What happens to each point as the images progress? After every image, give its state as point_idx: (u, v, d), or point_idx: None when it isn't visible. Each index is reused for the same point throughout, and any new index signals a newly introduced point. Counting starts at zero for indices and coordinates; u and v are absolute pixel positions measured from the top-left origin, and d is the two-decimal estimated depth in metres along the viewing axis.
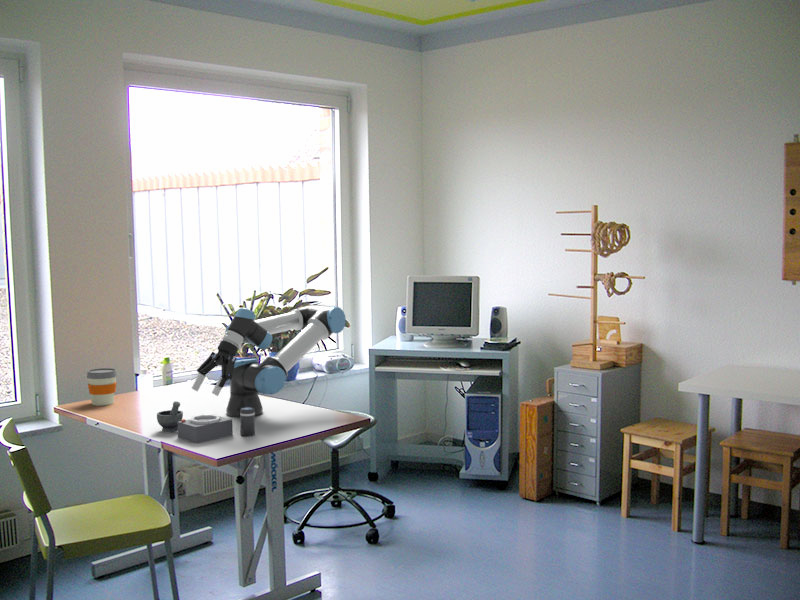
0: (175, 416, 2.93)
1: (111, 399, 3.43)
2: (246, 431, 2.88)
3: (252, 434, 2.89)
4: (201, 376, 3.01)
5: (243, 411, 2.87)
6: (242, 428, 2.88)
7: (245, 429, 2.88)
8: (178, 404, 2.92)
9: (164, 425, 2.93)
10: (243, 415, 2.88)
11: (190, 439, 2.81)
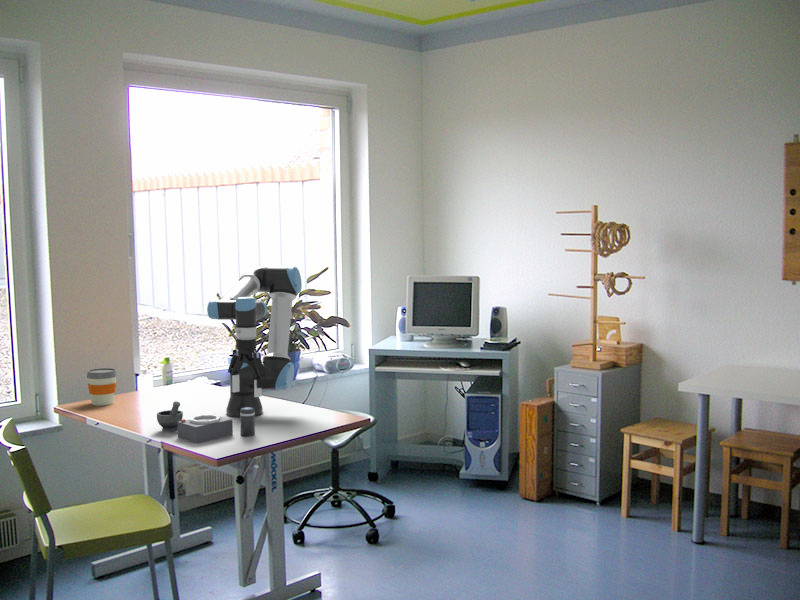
0: (175, 416, 2.93)
1: (111, 399, 3.43)
2: (246, 431, 2.88)
3: (252, 434, 2.89)
4: (235, 377, 2.93)
5: (243, 411, 2.87)
6: (242, 428, 2.88)
7: (245, 429, 2.88)
8: (178, 404, 2.92)
9: (164, 425, 2.93)
10: (243, 415, 2.88)
11: (190, 439, 2.81)
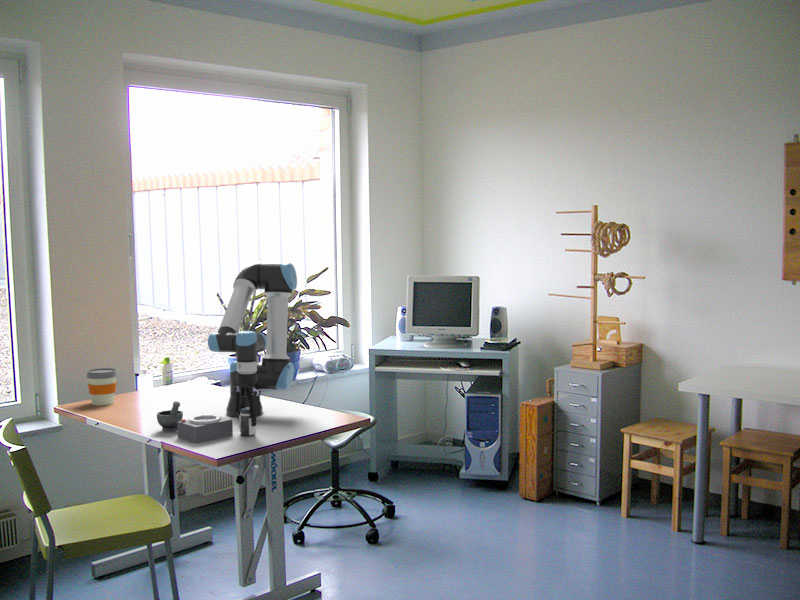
0: (175, 416, 2.93)
1: (111, 399, 3.43)
2: (246, 431, 2.88)
3: None
4: None
5: (243, 411, 2.87)
6: (242, 428, 2.88)
7: (245, 429, 2.88)
8: (178, 404, 2.92)
9: (164, 425, 2.93)
10: (243, 415, 2.88)
11: (190, 439, 2.81)
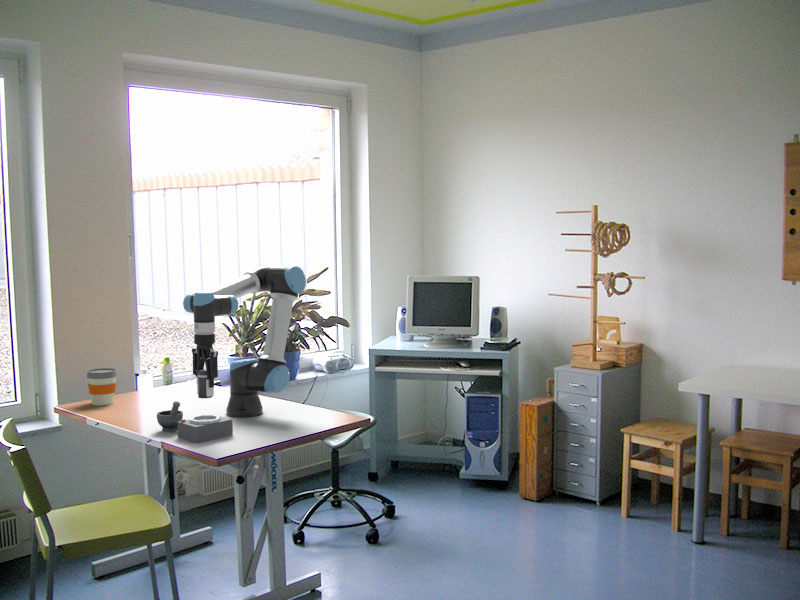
0: (175, 416, 2.93)
1: (111, 399, 3.43)
2: (204, 393, 2.84)
3: (210, 396, 2.86)
4: None
5: (200, 372, 2.84)
6: (199, 390, 2.85)
7: (203, 391, 2.84)
8: (178, 404, 2.92)
9: (164, 425, 2.93)
10: (200, 376, 2.84)
11: (190, 439, 2.81)
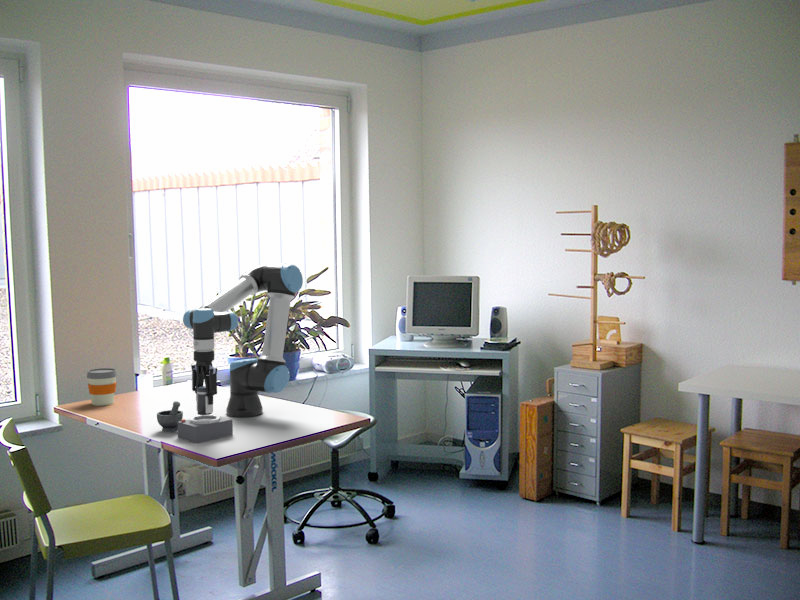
0: (175, 416, 2.93)
1: (111, 399, 3.43)
2: (203, 409, 2.85)
3: (209, 413, 2.86)
4: None
5: (200, 389, 2.84)
6: (199, 406, 2.85)
7: (202, 408, 2.85)
8: (178, 404, 2.92)
9: (164, 425, 2.93)
10: (200, 393, 2.84)
11: (190, 439, 2.81)
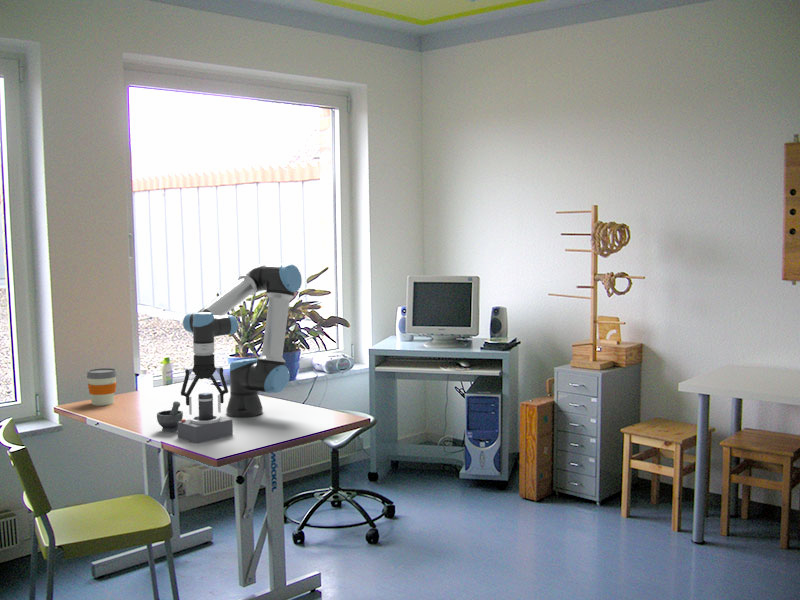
0: (175, 416, 2.93)
1: (111, 399, 3.43)
2: (211, 415, 2.87)
3: None
4: None
5: (208, 396, 2.85)
6: (207, 414, 2.85)
7: (210, 414, 2.86)
8: (178, 404, 2.92)
9: (164, 425, 2.93)
10: (208, 400, 2.85)
11: (190, 439, 2.81)
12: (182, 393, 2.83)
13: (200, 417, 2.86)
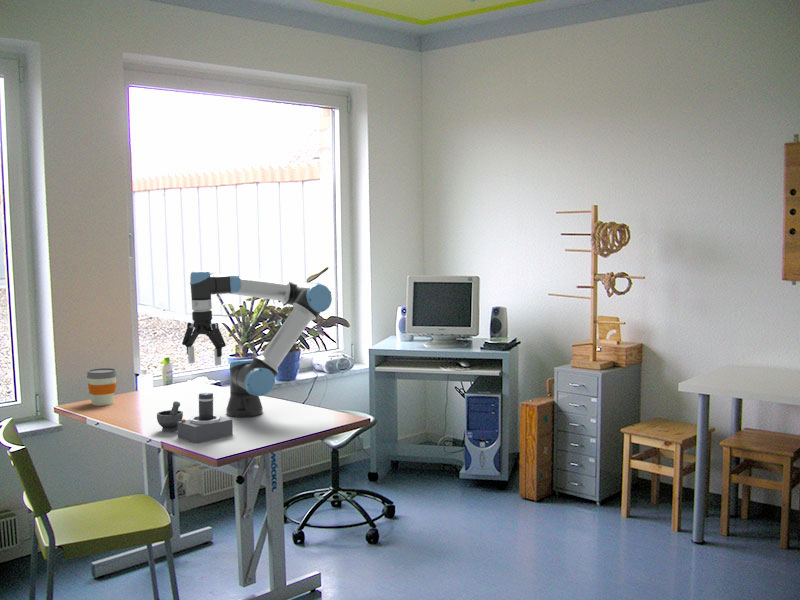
0: (175, 416, 2.93)
1: (111, 399, 3.43)
2: (211, 415, 2.87)
3: None
4: (191, 348, 3.04)
5: (208, 396, 2.85)
6: (207, 414, 2.85)
7: (210, 414, 2.86)
8: (178, 404, 2.92)
9: (164, 425, 2.93)
10: (208, 400, 2.85)
11: (190, 439, 2.81)
12: (183, 343, 3.04)
13: (200, 417, 2.86)
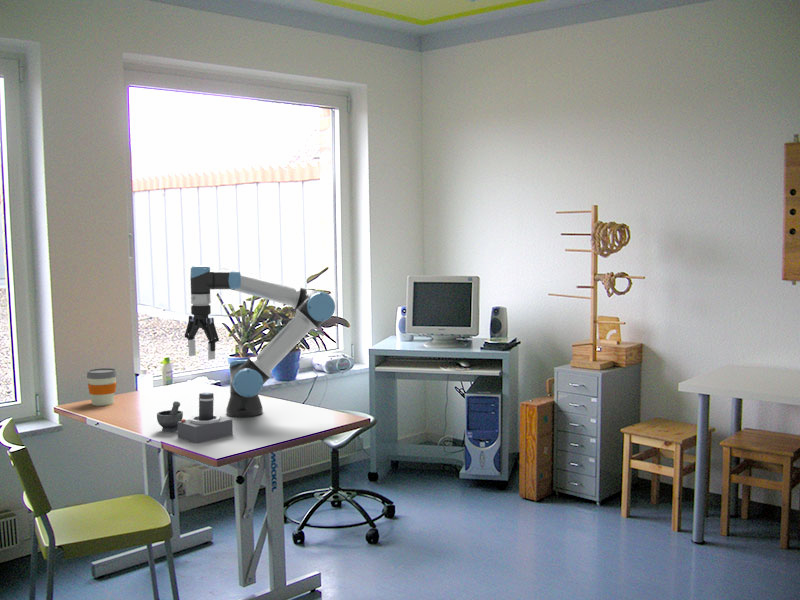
0: (175, 416, 2.93)
1: (111, 399, 3.43)
2: (211, 415, 2.87)
3: None
4: (191, 341, 3.10)
5: (209, 396, 2.85)
6: (207, 413, 2.85)
7: (211, 414, 2.86)
8: (178, 404, 2.92)
9: (164, 425, 2.93)
10: (209, 400, 2.85)
11: (190, 439, 2.81)
12: (185, 335, 3.11)
13: (200, 417, 2.86)
